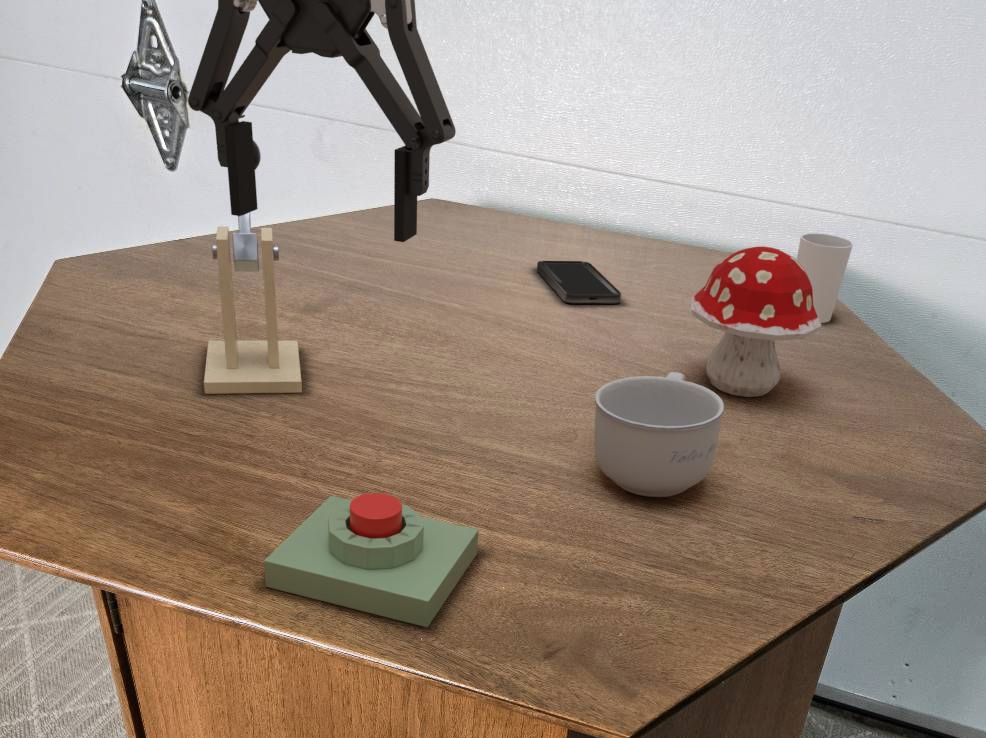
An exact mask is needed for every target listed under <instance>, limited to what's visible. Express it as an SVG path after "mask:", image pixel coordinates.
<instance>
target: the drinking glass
mask: <svg viewBox="0 0 986 738" xmlns="http://www.w3.org/2000/svg"><path fill="white" fill-rule="evenodd" d="M853 247H854V243H853V242H852V241H851V240H849V239H847V238H844V237H841V236H837V235H832V234H828V233H827V234H826V233H818V232H813V233H812V232H811V233H809V232H808V233H804V234H802V235H800V239H799V244H798V249H797V255H796V260H797V261H798V262H799V263H800V264H801V265H802V267H803V268H804V270H805V272H806V274H807V276H808V278H809V280H810V283H811V285H812V292H813V305H814V308H815V310H816V312H817V314H818V317H819V320H820V323H821V324H823V323H828V322H830V321H831V319H832V316H833V313H834V309H835V306H836V303H837V299H838V296H839V293H840V289H841V286H842V283H843V279H844V276H845V273H846V271H847V270H846V269H847V266H848V263H849V259H850V256H851V254H852V253H851V252H852V250H853Z"/></svg>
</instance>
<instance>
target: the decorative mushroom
mask: <svg viewBox="0 0 986 738" xmlns="http://www.w3.org/2000/svg"><path fill="white" fill-rule="evenodd" d="M690 302H691V307H690V308H691V314H692V316H693V317H694V318H696V319H697V320H699V321H700V322H702V323H703V324H704V325H706V326H708V327H709V328H712V329H715V330H719V331H722V332H724V334H723V335H722V337H721V339H720V340H719V342H718V343H717V344H716V346H715V347H714V348H713V349H712V350H711V352H710V354H709V356H708V357H707V362H706V375H707V377H708V380H709V381H710V384H711V385H712V386H713V387H715V388H716V389H718V390H719V391H721V392H724V393H726V394H729V395H732V396H737V397H738V396H739V397H743V398H745V397H746V398H753V397H754V398H755V397H762V396H764V395H766V394H768V393H770V392H771V390H773V388H775V387H776V386H777V385H778V384H779V383H780V378H781V366H780V360H779V358H778V354H777V351H776V344H775V341H776V342H779V341H792V340H793V341H795V340H804V339H806V338H808V337H810V336H812V335H814V334H815V333H817V332H819V330H820V329H821V327H822V323H820V320H819V317H818V314H817V312H816V310H815V308H814V305H813V292H812V285H811V283H810V280H809V278H808V276H807V274H806V272H805V270H804V268H803V267H802V265H801V264H800V263H799V262H798V261H797V258H795V257H793V256H792V255H790V254H788V253H786V252H784V251H782V250H780V249H778V248H776V247H775V248H774V247H771V246H753V247H752V246H751V247H748V248H747V247H746V248H742V249H740V250H737V251H735V252H734V253H731V254H730V255H728V256H725V257H724V258H723V259H722V260H721V261H719V263H718V264H716V265H715V266H714V267H713V269H712V271H711V273H710V275H709V277H708V279H707V280H706V283H705V284H704V286H703V287H702V288H701V289H699V291H698V292H697V293H696V294H695V295H694V296H693V297H691V301H690Z"/></svg>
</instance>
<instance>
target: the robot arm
mask: <svg viewBox="0 0 986 738" xmlns="http://www.w3.org/2000/svg"><path fill="white" fill-rule="evenodd" d="M258 3H259V5H260V7H261V8H262V10H263V11H264V13H265V15H266V17H267V18H268V21H267V22H266V24H265V25H264V27H263V28H262V29H261V31H260V33H259V34H258V36H257V37H256V38H255V41H254V43H255V44H254V46H253V48H252V49H251V50H250V52H249V53H248V55H247V56H246V58H245V59H244V60H243V63H242V64H241V65H240V66H239V68H238V69H237V70H236V72H235V73H234V75H233V76H232V78H231V79H230V81H229V83H228V80H229V77H230V74H231V72H232V69H233V67H234V63H235V61H236V58H237V55H238V52H239V49H240V46H241V43H242V41H243V38H244V34H245V33H246V29H247V28H248V27H247V26H248V23H249V20H250V15H251V12H253V11H254V10H255V9H256V6H257V5H258ZM375 14H376V15H377V16H378V19H379V21H380V24H381V25H382V27H384V28H385V29H386V30H387V32H388V37H389V41H390V43H391V46H392V48H393V51H394V53H395V56H396V58H397V61H398V64H399V66H400V68H401V71H402V73H403V76H404V79H405V81H406V83H407V87H408V88H409V89H408V90H409V91H410V94H411V96H412V99H413V101H414V104H415V106H414V104H413V103H412V102H411V100H410V98H409V97H408V96H407V94H406V93H405V91H404V90H403V88H402V87H401V85H400V83H399V82H398V80H397V79H396V76H394V74H393V72H392V71H391V70H390V68H389V67H388V65H387V64H386V62H385V61H384V59H383V58H382V56H381V50H380V49H379V47H378V45H377V43H376V42H375V40H374V39H373V38H372V35H371V34H370V33H369V32H368V30H367V27H368V25H370V23H371V21H372V19H373V18H374V16H375ZM290 52H291V54H297V55H305V54H311V53H313V54H315V55H318V56H319V57H322V58H328V59H329V58H330V59H334V58H340V57H342V58H343V59H344V61H345V62H346V63H347V65H348V66H349V67H351V68H352V69H353V70H354V71H355V72H356V73H357V75H358V76H359V78H360V80H361V81H362V83H363V84H364V85H365V87H366V89H367V91H369V93H370V95H371V96H372V98H373V99H374V100H375V102H376V104H377V105H378V106H379V108H380V110H381V111H382V113H383V114H384V116H385V117H386V118H387V121H389V123H390V124H391V127H393V129H394V130H395V132H396V134H397V135H398V136H399V138H400V140H401V141H402V143H403V144H404V145H402V146H400V147H398V148H395V149H394V163H393V164H394V170H393V171H394V173H393V174H394V178H393V179H394V181H393V183H394V186H393V189H394V190H393V192H394V194H393V196H394V197H393V199H394V200H393V204H394V205H393V207H394V208H393V211H394V212H393V215H394V216H393V234H394V235H393V241H394V242H398V243H405V242H407V241H408V240H410V239H411V238H414V237H415V236H416V235H418V197H420V196H422V195H425V194H426V193H428V189H429V187H430V159H431V157H430V156H431V149H432V147H434V146H436V145H441V144H443V143H446V142H448V141H450V140H453V139H454V137H455V136H456V133H457V130H456V127H455V124H454V121H453V119H452V116H451V113H450V111H449V109H448V105H447V103H446V101H445V97H444V95H443V92H442V90H441V88H440V84H439V82H438V79H437V77H436V74H435V72H434V69H433V67H432V64H431V62H430V59H429V56H428V53H427V51H426V47H425V46H424V43H423V41H422V38H421V36H420V32H419V30H418V25H417V12H416V2H415V0H217V11H216V13H215V16H214V19H213V23H212V26H211V29H210V31H209V35H208V37H207V40H206V44H205V46H204V49H203V51H202V55H201V59H200V61H199V64H198V67H197V70H196V73H195V77H194V79H193V82H192V85H191V88H190V92H189V95H188V97H187V104H188V106H189V108H190V109H191V110H192V111H194V112H201V113H203V114H204V115H206V116H208V117H209V118H210V119H212V121H213V125H214V127H215V128H214V129H215V139H216V150H217V160H218V164H219V166H220V167H222V168H227V177H228V190H229V203H230V214H231V216H236V217H238V216H242V215H244V214H247V213H249V212H250V213H252V212H254V211H257V210H258V209H259V208H258V194H257V180H256V170H255V163H254V148H253V140H254V135H253V122H252V121H247V120H246V121H245V120H241V119H243V118H245V117H246V115H245V114H244V113H245V112H246V110H247V109H248V107H249V106H250V105H251V103H252V101H253V100H254V99H255V98H256V96H257V95H258V93H259V92H260V90H261V89H262V88H263V86H264V85H265V83H266V82H267V81H268V80H269V78H270V77H271V75H272V73H273V72H274V71H275V70H276V68H277V66H278V65H279V63H280V62H281V61H282V59H283V58H284V57H285V56H286V55H287V54H288V53H290ZM415 107H416V108H415ZM240 120H241V121H240Z"/></svg>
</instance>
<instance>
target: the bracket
mask: <svg viewBox="0 0 986 738" xmlns="http://www.w3.org/2000/svg"><path fill="white" fill-rule="evenodd" d="M229 230H230V229H229V226H217V228H216V236H215V243H212V245H211V250H212V251H211V252H212V259H213V260H214V261H215V260H216V261H217V266H218V267H217V268H218V270H217V271H218V279H219V281H218V282H219V293H220V304H221V316H222V329H223V340H208V342H207V350H206V360H205V369H204V378H203V388H204V394H205V395H215V394H216V395H218V394H219V395H221V394H224V395H225V394H226V395H227V394H291V393H294V394H295V393H299V394H301V393H302V392H303V387H302V386H303V385H302V384H303V383H302V371H301V363H300V353H299V352H300V351H299V342H298V340H279V334H278V333H279V332H278V317H277V315H278V313H277V297H276V296H277V295H276V277H275V275H276V274H275V262H279V261H280V253H279V251H280V249H279V245H278V244H277V245H276V244H275V245H274V240H273V228H272V227H261V228H260V230H261V231H260V237H261V238H260V239H261V242H260V243H261V257H262V273H263V290H264V291H263V293H264V305H265V306H264V307H265V309H264V310H265V322H266V323H265V325H266V340H238V334H237V322H236V307H235V296H234V295H235V293H234V282H233V281H234V280H233V269H232V257H231V255H232V254H231V242H230V231H229Z"/></svg>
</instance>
